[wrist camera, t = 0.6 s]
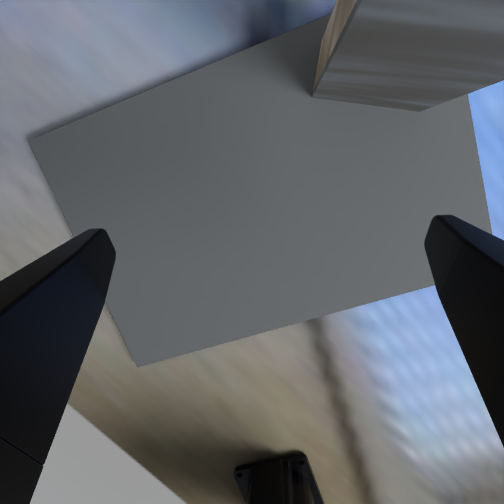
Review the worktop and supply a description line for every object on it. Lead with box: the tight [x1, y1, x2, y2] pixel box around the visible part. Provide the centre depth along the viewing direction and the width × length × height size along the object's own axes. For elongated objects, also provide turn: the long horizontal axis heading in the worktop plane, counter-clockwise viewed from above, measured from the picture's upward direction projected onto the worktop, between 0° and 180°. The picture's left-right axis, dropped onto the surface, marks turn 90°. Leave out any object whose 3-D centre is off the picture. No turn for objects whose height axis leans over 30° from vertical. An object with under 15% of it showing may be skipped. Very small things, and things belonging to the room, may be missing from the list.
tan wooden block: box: [312, 0, 504, 112], centre depth 13 cm, size 3×6×13 cm, turn 82°
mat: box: [28, 13, 492, 367], centre depth 22 cm, size 18×27×1 cm, turn 109°
